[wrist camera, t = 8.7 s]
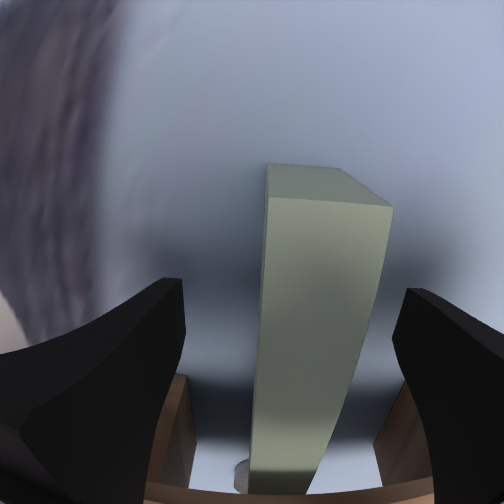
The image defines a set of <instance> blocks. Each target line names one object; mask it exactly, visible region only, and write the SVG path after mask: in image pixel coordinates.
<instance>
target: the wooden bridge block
mask: <svg viewBox="0 0 504 504" xmlns="http://www.w3.org/2000/svg"><path fill="white" fill-rule="evenodd" d="M196 444H197V442H196V436H195V430H194V424H193V417H192V411H191V404H190V397H189V390H188V382H187V375H178V374H175V375H174V378H173V380H172V383H171V386H170V388H169V391H168V394H167V397H166V399H165V402H164V405H163V408H162V410H161V413H160V417H159V420H158V423H157V427H156V432H155V437H154V441H153V446H152V451H151V456H150V462H149V467H148V473H147V479H146V486H145V493H144V501H143V504H434V488H433V477H432V468H431V462H430V456H429V450H428V445H427V440H426V436H425V432H424V427H423V424H422V421H421V418H420V415H419V412H418V409H417V407H416V404H415V402H414V400H413V397H412V395H411V392H410V390H409V387H408V385H407V383H406V380H405V383H404V385H403V387H402V389H401V391H400V393H399V395H398V398H397V400H396V402H395V404H394V406H393V408H392V410H391V412H390V414H389V416H388V417H387V419H386V421H385V423H384V425H383V427H382V429H381V431H380V432H379V434H378V436H377V438H376V440H375V441H374V443H373V447H374V451H375V455H376V459H377V464H378V468H379V472H380V477H381V481H382V485H383V487H377V488H371V489H364V490H356V491H347V492H337V493H325V494H307V495H253V494H235V493H223V492H212V491H204V490H196V489H189V488H188V487H189V482H190V476H191V471H192V465H193V460H194V455H195V450H196Z"/></svg>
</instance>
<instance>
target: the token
mask: <svg viewBox="0 0 504 504" xmlns="http://www.w3.org/2000/svg"><path fill="white" fill-rule="evenodd" d="M248 467H249V459H247V460H244V461H242V462H240V463H239V464H238V465H237V466H236V468H235V476H234V488H235V489H236V490H237V491H238V492H240V493H241V494H247V484H248Z"/></svg>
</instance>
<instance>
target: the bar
mask: <svg viewBox="0 0 504 504" xmlns="http://www.w3.org/2000/svg"><path fill="white" fill-rule="evenodd" d="M393 210H394V207H393V206H392V205H390V204H389V203H388V202H386V201H385V200H384V199H382V198H381V197H379V196H378V195H377V194H375V193H374V192H373V191H371V190H370V189H368V188H367V187H366V186H364V185H363V184H361V183H360V182H358V181H357V180H356V179H354V178H353V177H351V176H350V175H348V174H347V173H345V172H344V171H342V170H341V169H337V168H326V167H314V166H302V165H288V164H271V163H267V175H266V194H265V212H264V231H263V249H262V266H261V283H260V300H259V316H258V332H257V348H256V363H255V378H254V393H253V408H252V422H251V436H250V450H249V467H248V484H247V494H253V495H306V492H307V490H308V488H309V486H310V484H311V482H312V480H313V477H314V475H315V473H316V471H317V469H318V466H319V464H320V462H321V459H322V457H323V455H324V452H325V450H326V448H327V445H328V443H329V440H330V438H331V435H332V433H333V430H334V428H335V425H336V423H337V420H338V417H339V415H340V412H341V409H342V406H343V404H344V401H345V398H346V395H347V392H348V389H349V387H350V384H351V381H352V378H353V375H354V371H355V368H356V365H357V362H358V359H359V356H360V352H361V349H362V346H363V342H364V339H365V335H366V332H367V328H368V325H369V321H370V317H371V313H372V310H373V306H374V302H375V298H376V294H377V289H378V285H379V281H380V277H381V272H382V268H383V263H384V258H385V253H386V248H387V243H388V238H389V233H390V227H391V222H392V216H393Z"/></svg>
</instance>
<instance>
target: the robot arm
mask: <svg viewBox="0 0 504 504" xmlns="http://www.w3.org/2000/svg"><path fill="white" fill-rule="evenodd" d="M185 335H186V325H185V313H184V301H183V287H182V279H178V278H164V277H163V278H161V279H159V280H158V281H156V282H154V283H153V284H151V285H150V286H148V287H147V288H145V289H144V290H142V291H141V292H139V293H138V294H136V295H135V296H133V297H132V298H130V299H129V300H127V301H125V302H124V303H122V304H121V305H119V306H117V307H116V308H114V309H112V310H111V311H109V312H107V313H106V314H104V315H102V316H101V317H99V318H97V319H95V320H94V321H92V322H90V323H88V324H86V325H84V326H82V327H80V328H77V329H75V330H73V331H71V332H69V333H66V334H64V335H62V336H59V337H56V338H54V339H51V340H48V341H45V342H43V343H40V344H37V345H34V346H31V347H27V348H24V349H21V350H17V351H13V352H8V353H5V354H0V504H143V501H144V493H145V486H146V479H147V473H148V467H149V462H150V456H151V451H152V446H153V441H154V437H155V432H156V427H157V423H158V420H159V417H160V413H161V410H162V408H163V405H164V402H165V399H166V397H167V394H168V391H169V388H170V386H171V383H172V380H173V378H174V375H175V372H176V369H177V367H178V364H179V361H180V358H181V354H182V349H183V345H184V340H185ZM392 341H393V345H394V349H395V353H396V357H397V360H398V363H399V366H400V368H401V371H402V373H403V376H404V378H405V380H406V383H407V385H408V387H409V390H410V392H411V395H412V397H413V400H414V402H415V404H416V407H417V409H418V412H419V415H420V418H421V421H422V424H423V427H424V432H425V436H426V440H427V445H428V450H429V456H430V462H431V468H432V477H433V488H434V504H504V334H502V333H500V332H499V331H497V330H495V329H493V328H491V327H490V326H488V325H486V324H484V323H482V322H481V321H479V320H477V319H476V318H474V317H472V316H471V315H469V314H467V313H466V312H464V311H463V310H461V309H459V308H458V307H456V306H454V305H453V304H451V303H449V302H448V301H446V300H444V299H443V298H441V297H439V296H437V295H436V294H434V293H432V292H430V291H428V290H425V289H423V288H407V290H406V293H405V297H404V301H403V304H402V307H401V311H400V314H399V317H398V320H397V324H396V327H395V330H394V333H393V336H392Z"/></svg>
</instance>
